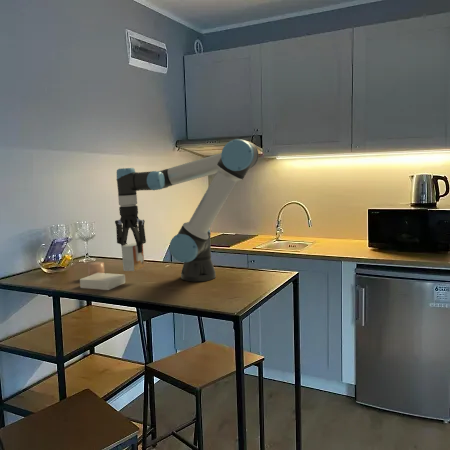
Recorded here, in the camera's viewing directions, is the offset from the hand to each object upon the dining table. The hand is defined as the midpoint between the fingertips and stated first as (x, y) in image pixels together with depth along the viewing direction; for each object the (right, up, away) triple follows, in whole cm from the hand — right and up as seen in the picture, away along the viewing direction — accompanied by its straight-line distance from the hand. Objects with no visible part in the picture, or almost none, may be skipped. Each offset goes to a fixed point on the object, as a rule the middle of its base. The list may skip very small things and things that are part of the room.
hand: (132, 260), depth 192 cm
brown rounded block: (-18, -9, +12) cm, 24 cm away
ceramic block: (-12, -11, 0) cm, 17 cm away
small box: (0, -4, +1) cm, 4 cm away
